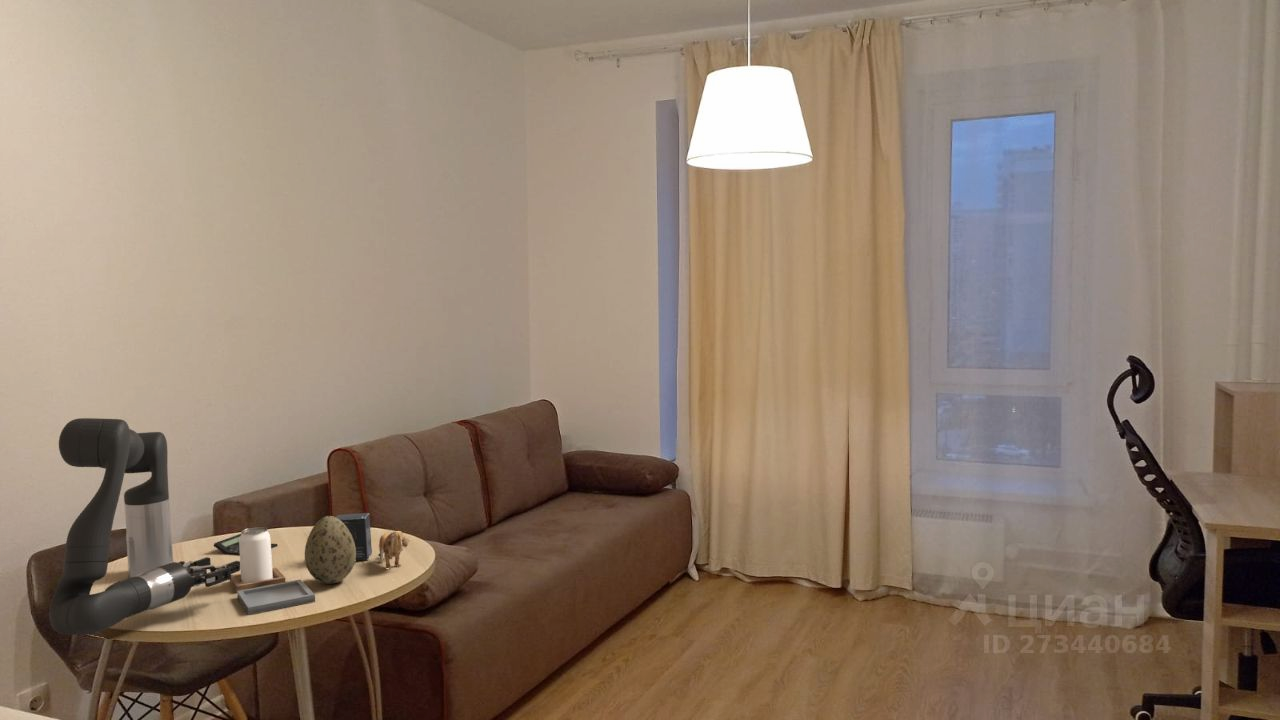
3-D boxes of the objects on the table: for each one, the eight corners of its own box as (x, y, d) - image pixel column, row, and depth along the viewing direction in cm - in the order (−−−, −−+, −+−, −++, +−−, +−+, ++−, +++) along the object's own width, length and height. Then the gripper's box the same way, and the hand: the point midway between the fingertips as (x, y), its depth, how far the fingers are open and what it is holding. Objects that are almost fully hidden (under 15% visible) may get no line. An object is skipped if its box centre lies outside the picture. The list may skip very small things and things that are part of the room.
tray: (248, 614, 185) (248, 607, 185) (237, 597, 196) (237, 591, 196) (315, 601, 192) (314, 594, 192) (300, 586, 203) (300, 579, 203)
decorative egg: (333, 573, 212) (329, 508, 211) (367, 578, 207) (364, 513, 206) (295, 586, 202) (291, 519, 201) (330, 593, 197) (327, 524, 196)
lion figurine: (413, 568, 213) (411, 530, 213) (391, 573, 210) (389, 535, 210) (388, 555, 225) (386, 519, 224) (367, 559, 222) (365, 523, 221)
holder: (237, 593, 199) (236, 586, 199) (229, 581, 207) (229, 575, 207) (285, 584, 204) (285, 577, 204) (276, 573, 213) (275, 567, 213)
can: (261, 588, 202) (258, 534, 201) (235, 587, 203) (232, 533, 202) (278, 579, 208) (275, 527, 207) (253, 578, 210) (250, 526, 209)
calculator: (251, 557, 228) (251, 545, 228) (214, 554, 232) (213, 543, 231) (277, 547, 237) (276, 535, 237) (240, 544, 241) (239, 533, 240)
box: (372, 554, 226) (369, 512, 226) (367, 561, 221) (365, 517, 220) (339, 556, 226) (337, 514, 225) (334, 563, 220) (331, 519, 219)
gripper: (183, 571, 179) (248, 549, 194) (131, 565, 185) (198, 543, 200) (186, 609, 180) (250, 583, 195) (134, 601, 185) (200, 577, 200)
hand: (223, 563), depth 197 cm, fingers open, 8 cm apart
